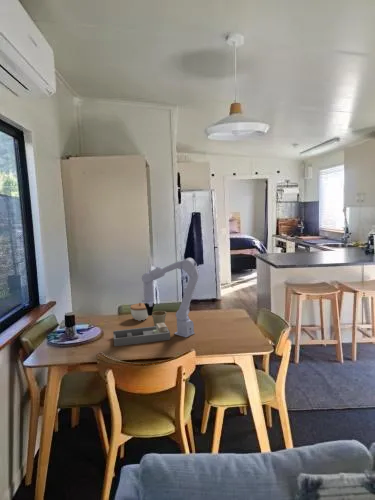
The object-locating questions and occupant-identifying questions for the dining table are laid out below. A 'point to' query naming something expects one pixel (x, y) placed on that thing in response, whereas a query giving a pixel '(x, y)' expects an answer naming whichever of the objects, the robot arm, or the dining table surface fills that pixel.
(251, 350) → the dining table surface
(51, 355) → the dining table surface
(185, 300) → the robot arm
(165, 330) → the cream block
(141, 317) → the lidded bowl
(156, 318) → the flower pot
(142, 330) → the channel
